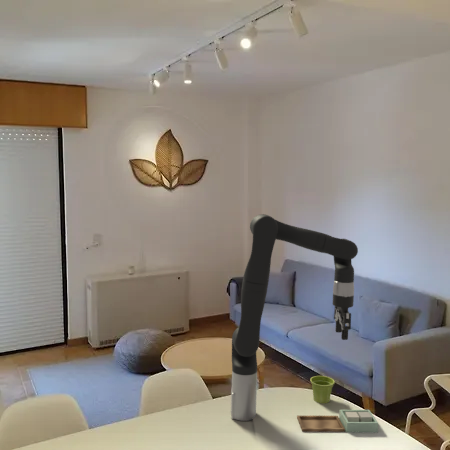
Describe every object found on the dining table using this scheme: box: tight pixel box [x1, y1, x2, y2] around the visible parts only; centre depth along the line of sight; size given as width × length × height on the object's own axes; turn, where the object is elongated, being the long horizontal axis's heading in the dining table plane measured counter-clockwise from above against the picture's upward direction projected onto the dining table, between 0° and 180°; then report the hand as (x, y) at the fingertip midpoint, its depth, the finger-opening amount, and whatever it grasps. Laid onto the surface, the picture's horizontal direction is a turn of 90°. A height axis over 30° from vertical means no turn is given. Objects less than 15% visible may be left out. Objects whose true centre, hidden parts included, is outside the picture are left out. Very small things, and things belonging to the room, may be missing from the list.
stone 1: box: [345, 412, 359, 422], centre depth 183 cm, size 4×4×4 cm
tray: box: [296, 415, 346, 433], centre depth 183 cm, size 15×10×2 cm, turn 92°
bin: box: [338, 409, 379, 433], centre depth 183 cm, size 11×10×4 cm
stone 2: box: [357, 412, 372, 422], centre depth 183 cm, size 4×4×4 cm
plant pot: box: [310, 375, 335, 404], centre depth 203 cm, size 9×9×9 cm
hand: (341, 335), depth 191 cm, fingers open, 8 cm apart
